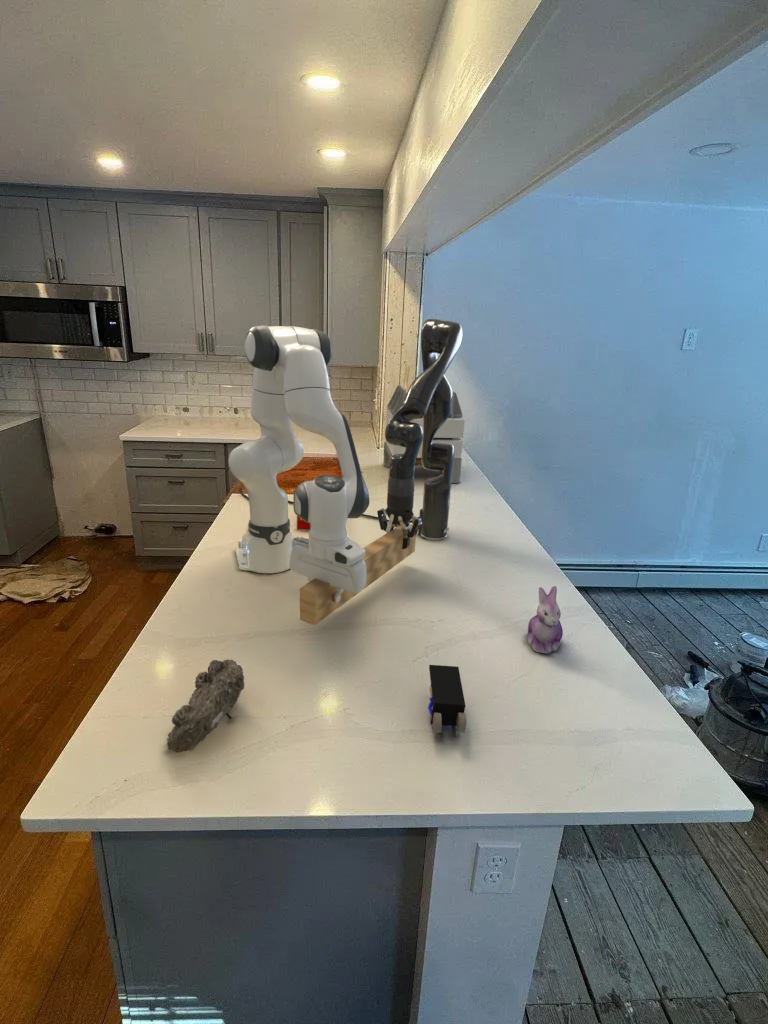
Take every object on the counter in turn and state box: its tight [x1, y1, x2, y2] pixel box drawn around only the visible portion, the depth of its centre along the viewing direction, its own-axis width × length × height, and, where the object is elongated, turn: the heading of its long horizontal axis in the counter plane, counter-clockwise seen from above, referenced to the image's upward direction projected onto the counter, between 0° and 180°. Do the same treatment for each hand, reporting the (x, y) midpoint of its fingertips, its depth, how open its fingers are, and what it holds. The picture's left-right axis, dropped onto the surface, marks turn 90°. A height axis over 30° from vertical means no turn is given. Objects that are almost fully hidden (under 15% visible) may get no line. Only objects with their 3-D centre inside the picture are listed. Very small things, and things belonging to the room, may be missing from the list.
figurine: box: [526, 585, 564, 655], centre depth 134 cm, size 9×10×15 cm
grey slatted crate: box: [383, 384, 465, 484], centre depth 268 cm, size 34×33×41 cm
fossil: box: [166, 658, 245, 754], centre depth 106 cm, size 22×10×15 cm
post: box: [299, 523, 417, 626], centre depth 151 cm, size 51×4×8 cm, turn 150°
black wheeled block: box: [427, 664, 467, 738], centre depth 109 cm, size 7×8×15 cm
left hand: (326, 597), depth 137 cm, fingers closed on post, 4 cm apart
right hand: (397, 546), depth 166 cm, fingers closed on post, 4 cm apart
